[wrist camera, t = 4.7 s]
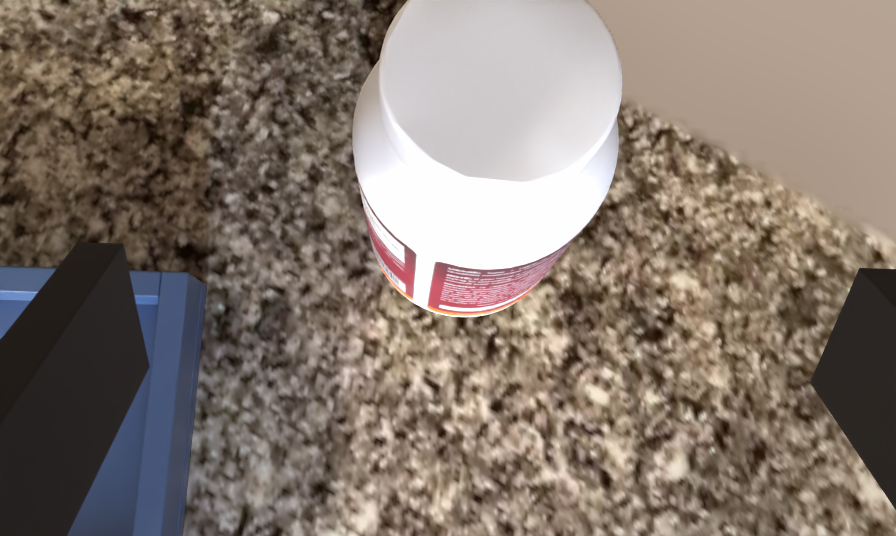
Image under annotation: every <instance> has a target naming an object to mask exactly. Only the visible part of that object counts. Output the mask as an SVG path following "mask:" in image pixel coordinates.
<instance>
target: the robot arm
mask: <svg viewBox="0 0 896 536" xmlns="http://www.w3.org/2000/svg"><path fill="white" fill-rule="evenodd" d="M149 367H150V365H149V361H148V356H147V352H146V347H145V342H144V338H143V333H142V328H141V324H140V319H139V315H138V310H137V305H136V301H135V296H134V291H133V287H132V282H131V278H130V273H129V268H128V264H127V259H126V254H125V250H124V245H123V244H113V243H83V242H77V244H76V245H75V246H74V247H73V249H72V250H71V251H70V253H69V254H68V255H67V256H66V258H65V259H64V260H63V261H62V263H61V264H60V265H59V266H58V268H57V269H56V270H55V271H54V273H53V274H52V275H51V276H50V278H49V279H48V280H47V282H46V283H45V284H44V285H43V287H42V288H41V289H40V290H39V292H38V293H37V294H36V295H35V297H34V298H33V299H32V300H31V302H30V303H29V304H28V305H27V307H26V308H25V309H24V310H23V312H22V313H21V314H20V316H19V317H18V318H17V319H16V321H15V322H14V323H13V324H12V326H11V327H10V328H9V329H8V331H7V332H6V333H5V334H4V336H3V337H2V338H1V339H0V536H67V535H68V533H69V531H70V529H71V527H72V525H73V523H74V521H75V519H76V517H77V515H78V513H79V511H80V509H81V507H82V504H83V502H84V500H85V498H86V496H87V494H88V492H89V490H90V488H91V486H92V484H93V482H94V480H95V478H96V476H97V474H98V472H99V470H100V468H101V466H102V464H103V461H104V459H105V457H106V455H107V453H108V451H109V449H110V447H111V445H112V443H113V441H114V439H115V437H116V435H117V433H118V431H119V429H120V427H121V425H122V423H123V421H124V418H125V416H126V414H127V412H128V410H129V408H130V406H131V404H132V402H133V400H134V398H135V396H136V394H137V392H138V390H139V388H140V386H141V384H142V382H143V380H144V378H145V376H146V373H147V371H148V369H149ZM810 383H811V384H812V386H813V387H814V389H815V390H816V392H817V393H818V395H819V396H820V398H821V399H822V401H823V402H824V404H825V405H826V407H827V408H828V410H829V411H830V413H831V414H832V416H833V417H834V419H835V420H836V422H837V423H838V425H839V426H840V428H841V429H842V431H843V432H844V434H845V435H846V436H847V438H848V439H849V441H850V442H851V444H852V445H853V447H854V448H855V450H856V451H857V453H858V454H859V456H860V457H861V459H862V460H863V462H864V463H865V465H866V466H867V468H868V469H869V471H870V472H871V474H872V475H873V477H874V478H875V480H876V481H877V483H878V484H879V486H880V487H881V489H882V490H883V492H884V493H885V494H886V496H887V497H888V499H889V500H890V502H891V503H892V505H893V506H894V508H895V509H896V269H872V268H859V271H858V273H857V275H856V277H855V280H854V282H853V284H852V287H851V289H850V291H849V294H848V296H847V298H846V301H845V303H844V305H843V308H842V310H841V312H840V315H839V317H838V319H837V322H836V324H835V326H834V328H833V331H832V333H831V335H830V338H829V340H828V342H827V345H826V347H825V349H824V352H823V354H822V356H821V359H820V361H819V363H818V366H817V368H816V370H815V372H814V375H813V377H812V379H811V382H810Z"/></svg>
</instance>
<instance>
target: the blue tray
mask: <svg viewBox="0 0 896 536" xmlns="http://www.w3.org/2000/svg"><path fill="white" fill-rule="evenodd" d="M56 269H57V268H51V267H22V266H0V339H1V338H2V337H3V336H4V334H5V333H6V332H7V331H8V329H9V328H10V327H11V326H12V324H13V323H14V322H15V321H16V319H17V318H18V317H19V316H20V314H21V313H22V312H23V310H24V309H25V308H26V307H27V305H28V304H29V303H30V302H31V300H32V299H33V298H34V297H35V295H36V294H37V293H38V292H39V290H40V289H41V288H42V287H43V285H44V284H45V283H46V282H47V280H48V279H49V278H50V276H51V275H52V274H53V273H54V271H55V270H56ZM129 273H130V278H131V282H132V287H133V291H134V296H135V301H136V305H137V310H138V315H139V319H140V324H141V328H142V333H143V338H144V342H145V347H146V352H147V356H148V361H149V365H150V367H149V369H148V371H147V373H146V376H145V378H144V380H143V382H142V384H141V386H140V388H139V390H138V392H137V394H136V396H135V398H134V400H133V402H132V404H131V406H130V408H129V410H128V412H127V414H126V416H125V418H124V421H123V423H122V425H121V427H120V429H119V431H118V433H117V435H116V437H115V439H114V441H113V443H112V445H111V447H110V449H109V451H108V453H107V455H106V457H105V459H104V461H103V464H102V466H101V468H100V470H99V472H98V474H97V476H96V478H95V480H94V482H93V484H92V486H91V488H90V490H89V492H88V494H87V496H86V498H85V500H84V502H83V504H82V507H81V509H80V511H79V513H78V515H77V517H76V519H75V521H74V523H73V525H72V527H71V529H70V531H69V533H68V535H67V536H183V526H184V516H185V506H186V495H187V485H188V475H189V465H190V454H191V444H192V434H193V424H194V413H195V403H196V393H197V382H198V372H199V362H200V352H201V341H202V331H203V321H204V311H205V300H206V290H207V286H206V285H205V284H204V283H202V282H201V281H199V280H198V279H196V278H195V277H194V276H192V275H191V274H189V273H187V272H167V271H164V272H160V271H138V270H129Z"/></svg>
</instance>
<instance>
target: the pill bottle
mask: <svg viewBox="0 0 896 536" xmlns="http://www.w3.org/2000/svg"><path fill="white" fill-rule="evenodd" d="M622 82H623V79H622V66H621V61H620V56H619V52H618V49H617V46H616V43H615V41H614V39H613V35H612V34H611V32H610V30H609V28H608V26H607V25H606V23H605V21H604V20H603V18H602V17H601V16H600V15H599V13H598V12H597V11H596V9H595V8H594V7H593V6H592V5H591V4H590V3H589V2H588V1H587V0H408V1H407V2H406V3H405V4H404V5H403V7H402V8H401V9H400V10H399V12H398V13H397V15H396V16H395V17H394V19H393V21H392V23H391V25H390V27H389V29H388V31H387V34H386V36H385V39H384V42H383V46H382V50H381V54H380V59H379V61H378V62H377V63H376V65H375V66H374V67H373V69H372V71H371V72H370V74H369V76H368V77H367V79H366V81H365V83H364V85H363V87H362V90H361V92H360V95H359V98H358V101H357V105H356V109H355V113H354V119H353V128H352V148H353V154H354V163H355V169H356V175H357V178H358V182H359V187H360V192H361V197H362V201H363V207H364V212H365V216H366V221H367V226H368V231H369V235H370V240H371V244H372V248H373V252H374V254H375V257H376V259H377V261H378V263H379V265H380V267H381V269H382V271H383V273H384V274H385V276H386V277H387V279H388V280H389V281H390V282H391V284H392V285H393V286H394V287H395V288H396V289H397V290H398V291H399V292H400V293H401V294H403V295H404V296H405V297H406V298H408V299H409V300H410V301H412V302H413V303H415V304H417V305H419V306H420V307H422V308H424V309H427V310H429V311H432V312H435V313H438V314H442V315H447V316H455V317H475V316H483V315H487V314H491V313H494V312H497V311H500V310H502V309H505V308H507V307H509V306H510V305H512V304H514V303H516V302H517V301H518V300H520V299H521V298H523V297H524V296H525V295H526V294H528V293H529V292H530V291H531V290H532V289H533V288H534V287H535V286H536V285H537V284H538V283H539V282H540V280H541V279H542V278H543V276H544V275H545V274H546V273H547V272H548V271H549V269H550V268H551V267H552V266H553V264H554V263H555V262H556V261H557V260H558V258H559V257H560V256H561V255H562V253H563V252H564V251H565V250H566V249H567V247H568V246H569V245H570V244H571V243H572V242H573V240H574V239H575V238H576V237H577V235H578V234H579V233H580V232H581V231H582V230H583V229H584V228H585V226H586V225H587V224H588V222H589V221H590V220H591V218H592V217H593V216H594V214H595V213H596V211H597V210H598V208H599V207H600V205H601V203H602V202H603V200H604V198H605V196H606V194H607V192H608V190H609V187H610V185H611V182H612V179H613V176H614V172H615V168H616V164H617V157H618V149H619V135H618V123H617V114H618V111H619V107H620V102H621V96H622V84H623V83H622Z"/></svg>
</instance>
